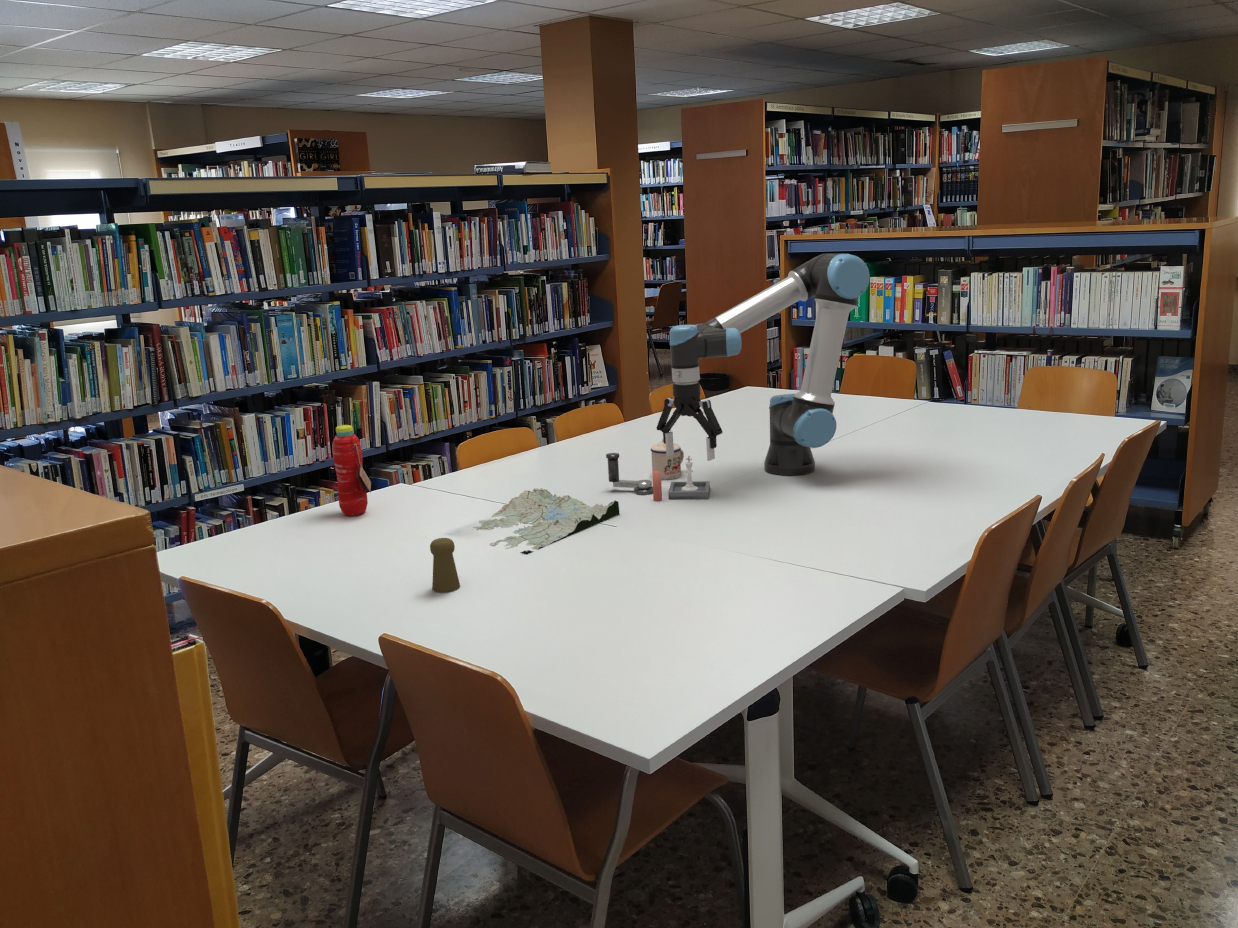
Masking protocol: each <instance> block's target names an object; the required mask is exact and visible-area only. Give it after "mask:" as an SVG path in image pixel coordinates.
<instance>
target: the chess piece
mask: <svg viewBox="0 0 1238 928" xmlns="http://www.w3.org/2000/svg"><path fill="white" fill-rule="evenodd" d="M685 460H686V461H687V462H685V466H686V470H685V473H687V478H686V481H687V484H686V486H684V487H682V488H681V491H699V490H698V487H696V486H694V485H693V483H692V481H693V479H692V473H694V471H693V469H692V468H693V462H692V460H693V458H691V456H690V455H688V456H687V457H686V458H685Z"/></svg>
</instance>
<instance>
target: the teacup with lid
mask: <svg viewBox="0 0 1238 928" xmlns="http://www.w3.org/2000/svg"><path fill="white" fill-rule="evenodd" d="M673 445H674V454H673V455H670V456H666V444H664V441H663V438H662V439H661V441H659V442H658V443H657V444H653V445H651V447H650V452H651V472H653V471H661V480H665V481H666V480H667V481H668V480H674V479H677V478H680V477H681V476H682V475H681V474H682V466H681V464H682V463H683V461H684V457H685V454H684V450H682V448H681V445H679V444H677V443H674V442H673Z"/></svg>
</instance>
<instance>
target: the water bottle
mask: <svg viewBox="0 0 1238 928" xmlns="http://www.w3.org/2000/svg"><path fill="white" fill-rule="evenodd" d="M335 432H336V435H335V436H334V438H333V440H332V443H331V445H332V446H331V447H332V448H331V449H332V451H331V453H332V458H333V459H332V460H333V464H334V469H335V472H336V481H337V483H336V484H337V499H338V500H337V501H338V505H339V509H340V510H341V512H342V514H344V515H345V516H347V517H354V516H355V517H356V516H361V515H363V514H364V513H366V510H367V507H368V503H369V502H368V492H369V493H370V494H371V491H372V490H371V489H372V481H371V479H370V478H369V477H368V475H367V473H366V471H365V470H364V468H363V454H362V453H363V452H362V446H361V442H360V439H359V437H358V436H357V435H356V434H355V433H354V428H353V426H352V425H350V424H341V425H338V426H336V427H335Z"/></svg>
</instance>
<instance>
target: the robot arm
mask: <svg viewBox="0 0 1238 928" xmlns="http://www.w3.org/2000/svg"><path fill="white" fill-rule="evenodd" d="M870 277H871V276H870V271H869V268H868V266H867V264H866V262H865V261H864V260H863V259H862V258H860V257H859V256H857V255H853V254H850V253H833V252H832V253H831V252H830V253H829V252H828V253H822V254H819V255H817V256H814V257H813V258H810V260H808V261H806V262H804V263H803V264H801V265H799V266H797V267H796V268H794V269H792V270H790V271H789V272H788V274H787V277H785V278H783V279H781V280H780V281H778V282H776V283H774V284H772V285H771V286H769V287H767V288H765V289H763V290H762V291H761V292H759V293H756V294H755V295H753V296H751V297H749V298H747V299H745V300H744V301H743V302H740V303H739V304H736V305H735V306H733V307H731V308H730V309H728V310H727V311H726V310H725V311H724V312H722V313H721V314H718V315H717V316H716V317H714V318H712V319H710V320H708V321H706V322H705V323H697V324H679V325H674V326H672V327H671V328H670V330H669V346H670V348H669V349H670V357H671V359H670V360H671V362H670V363H671V377H672V378H671V379H672V380H671V381H672V382H673V384H672V395H673V397H674V398H673V397H668V398H665V399H664V400H663V401H664V402H663V409H662V412H661V414H660V416H659V417H660V418H659V419H658V423H657V426H656V430H657V431H660V432H662V439H663V441H664V444H666V456H670V455H673V454H674V445H673V443H674V433H673V431H672V428H673V427H674V425H675V424H676V423H677V421H678V420H679V419H680V417H685V416H687V417H690V418H691V417H693V418H694V419H695V420H696V421H697V422H698V423H699V425H700V426H701V428H702V429H703V431H704V432H705V433H706V434H707V436H706V437H705V440H706V441H705V442H706V460H707V461H708V462H710V461H712V460H715V458H716V456H715V455H716V454H715V449H716V448H717V446H718V445H717V437H718V436H720V435H722V434H723V429H722V427H721V425H720V423H719V421H718V419H717V417H716V414H715V412H714V410H713V408H712V403H711V402H712V401H711V399H707V400H704V401H703V400H702V401H701V383H700V382H699V381H700V380H701V376H700V375H701V374H700V360H703V359H713V358H722V357H723V358H726V357H728V358H729V357H732V356H733V357H734V356H737V355H739V354H740V353H741V350H742V335H741V334H742V333H743V332H745V331H747V330H749V329H750V328H752V327H754V326H756V325H758V324H760V323H762V322H763V321H765V320H767V319H769V318H770V317H772V316H774V315H776V314H777V313H780V312H781V311H783V310H784V309H786V308H789V307H790V306H791V305H794V304H795V303H798V302H800V301H801V302H806V301H808V300H810V299H812V298H814V301H815V303H816V304H817V307H818V308H817V311H816V312H817V313H816V318H815V321H814V326H813V327H814V328H813V331H812V336H811V341H810V346H809V350H808V355H807V360H806V364H805V369H804V374H803V378H802V382H801V383H802V384H801V388H800V390H799V391H798V392H796V393H786V394H785V393H783V394H776V395H773V396H771V398H770V399H769V407H768V409H769V447H768V450H767V453H766V456H765V459H764V462H763V463H764V464H763V465H764V467H763V468H764V469H763V470H764V471H765V472H767V473H770V474H772V475H779V476H781V475H782V476H799V475H806V474H810V473H813V472H815V470H816V461H815V458H814V454H813V452H812V449H816V448H821V447H823V446H825V445H826V444H828V443H829V442H830V441H831V440H832V439H833V437H834V436H835V433H836V431H837V426H838V425H837V419H836V417H835V416H834V413H833V412H834V408H835V403H836V402H835V401H834V399H833V398H832V392H833V387H834V383H835V379H836V374H837V369H838V365H839V361H840V357H841V351H842V347H843V343H844V338H845V333H846V329H847V325H848V320H849V315H850V313H851V311H853V310H854V309H856V308H857V306H858V301H859V297H860V296H862V295H863V294H864V293H865V291H867V289H868V286H869V283H870ZM673 406H674V407H675V410H674V411H673V412H672V408H673ZM671 412H672V414H671ZM670 414H671V416H670ZM669 417H670V418H669Z"/></svg>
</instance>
